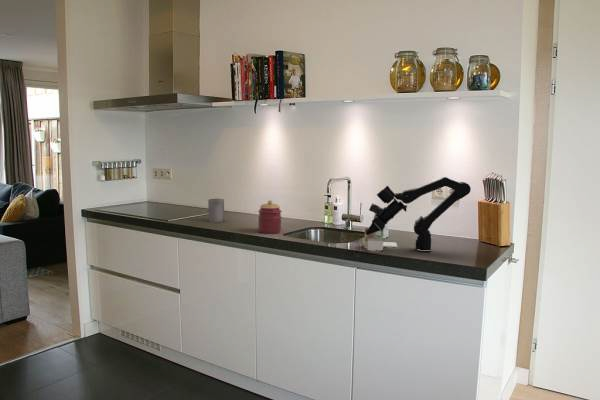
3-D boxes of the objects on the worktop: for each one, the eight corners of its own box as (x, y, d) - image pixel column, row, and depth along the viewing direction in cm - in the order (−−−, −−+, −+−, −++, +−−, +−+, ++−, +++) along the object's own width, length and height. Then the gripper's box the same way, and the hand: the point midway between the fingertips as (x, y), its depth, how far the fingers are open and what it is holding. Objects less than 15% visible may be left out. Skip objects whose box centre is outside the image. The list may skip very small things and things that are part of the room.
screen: (382, 250, 215) (383, 238, 214) (383, 251, 213) (383, 239, 212) (367, 250, 216) (367, 237, 215) (367, 251, 214) (367, 238, 213)
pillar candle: (213, 219, 296) (213, 196, 294) (227, 220, 293) (226, 197, 291) (205, 222, 287) (205, 198, 285) (219, 223, 284) (218, 198, 282)
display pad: (396, 244, 229) (396, 242, 229) (397, 248, 220) (397, 246, 220) (377, 243, 230) (377, 241, 230) (378, 247, 221) (378, 245, 221)
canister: (284, 230, 262) (284, 199, 260) (277, 234, 250) (277, 202, 248) (262, 229, 266) (263, 198, 263) (254, 233, 253) (254, 201, 251)
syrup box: (373, 237, 245) (374, 210, 243) (379, 236, 249) (380, 209, 247) (382, 239, 241) (383, 211, 239) (388, 237, 245) (389, 210, 243)
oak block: (374, 246, 224) (375, 228, 223) (374, 248, 219) (375, 229, 218) (364, 245, 225) (364, 227, 224) (364, 248, 220) (364, 229, 219)
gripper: (380, 196, 228) (357, 217, 231) (378, 200, 209) (353, 223, 213) (396, 212, 227) (373, 233, 231) (395, 218, 209) (369, 241, 212)
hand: (367, 232), depth 222 cm, fingers open, 9 cm apart
